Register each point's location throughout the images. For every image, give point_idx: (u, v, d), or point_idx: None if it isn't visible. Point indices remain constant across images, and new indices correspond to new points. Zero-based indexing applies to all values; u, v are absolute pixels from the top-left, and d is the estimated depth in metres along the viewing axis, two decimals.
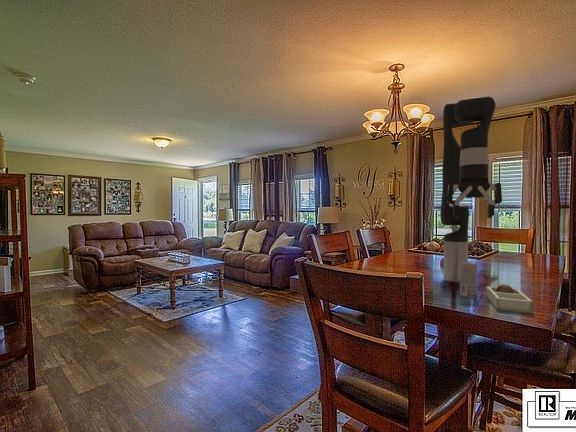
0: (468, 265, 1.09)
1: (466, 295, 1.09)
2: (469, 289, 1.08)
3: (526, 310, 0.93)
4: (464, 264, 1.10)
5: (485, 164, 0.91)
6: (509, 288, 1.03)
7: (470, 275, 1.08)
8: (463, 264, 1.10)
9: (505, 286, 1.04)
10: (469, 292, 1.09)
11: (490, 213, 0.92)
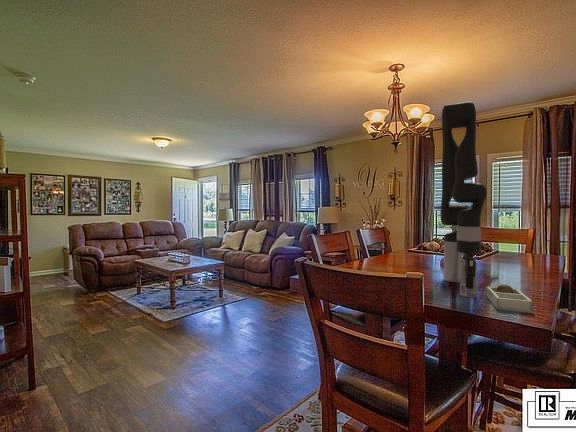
0: None
1: (466, 295, 1.09)
2: (469, 289, 1.08)
3: (526, 310, 0.93)
4: None
5: None
6: (509, 288, 1.03)
7: None
8: (463, 264, 1.10)
9: (505, 286, 1.04)
10: (469, 292, 1.09)
11: None
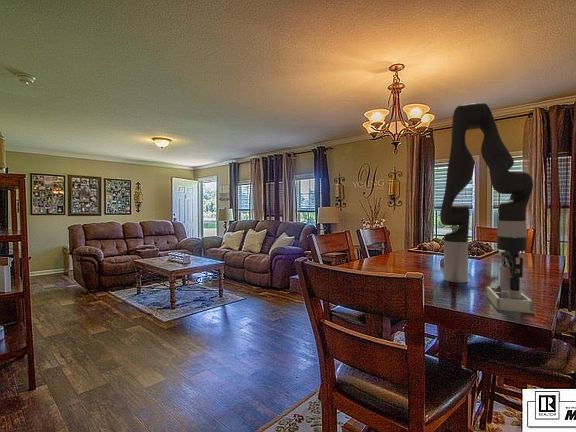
0: None
1: None
2: (513, 296, 0.95)
3: (526, 310, 0.93)
4: (505, 268, 0.97)
5: None
6: None
7: None
8: (504, 268, 0.97)
9: None
10: None
11: None
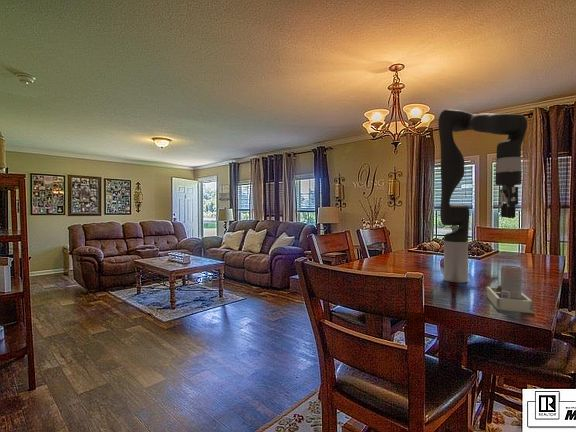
0: (512, 270, 0.96)
1: None
2: (513, 297, 0.95)
3: (526, 310, 0.93)
4: (507, 269, 0.97)
5: None
6: None
7: (514, 282, 0.95)
8: (505, 269, 0.97)
9: None
10: None
11: None
